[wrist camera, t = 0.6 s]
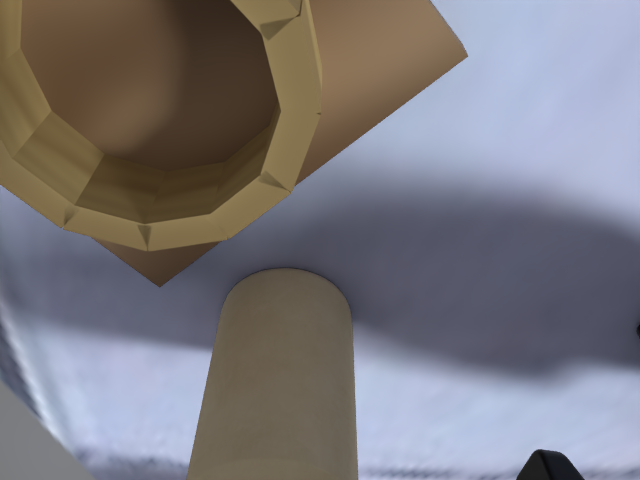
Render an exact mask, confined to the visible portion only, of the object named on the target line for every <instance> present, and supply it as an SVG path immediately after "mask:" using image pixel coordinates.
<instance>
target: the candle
mask: <svg viewBox="0 0 640 480" xmlns="http://www.w3.org/2000/svg"><path fill="white" fill-rule="evenodd" d="M186 480H358V459H357V432H356V405H355V377H354V350H353V327H352V315H351V311H350V307H349V304H348V302H347V300H346V298H345V296H344V295H343V293H342V292H341V291H340V290H339V289H338V288H337V287H336V286H335V285H334V284H333V283H331V282H330V281H328V280H327V279H325V278H323V277H321V276H319V275H317V274H314V273H312V272H308V271H305V270H300V269H293V268H275V269H268V270H264V271H260V272H257V273H254V274H252V275H250V276H248V277H246V278H244V279H243V280H241V281H240V282H238V283H237V284H236V285H235V286H234V287H233V288H232V290H231V291H230V292H229V294H228V296H227V297H226V299H225V302H224V304H223V307H222V310H221V315H220V319H219V323H218V328H217V333H216V338H215V343H214V347H213V352H212V357H211V362H210V367H209V372H208V377H207V381H206V386H205V391H204V396H203V401H202V406H201V411H200V415H199V420H198V425H197V430H196V435H195V440H194V444H193V449H192V454H191V459H190V464H189V469H188V474H187V479H186Z"/></svg>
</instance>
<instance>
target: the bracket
mask: <svg viewBox="0 0 640 480" xmlns="http://www.w3.org/2000/svg"><path fill="white" fill-rule="evenodd" d="M466 57H468V55H467V52H466V50H465V48H464V46H463V44H462V43H461V41H460V40H459V39H458V37H457V36H456V35H455V33H454V32H453V31H452V29H451V28H450V27H449V25H448V24H447V22H446V21H445V20H444V18H443V17H442V16H441V14H440V13H439V12H438V10H437V9H436V8H435V6H434V5H433V4H432V2H431V1H430V0H0V185H2V186H3V187H4V188H6V189H7V190H9V191H10V192H11V193H13V194H14V195H16V196H17V197H18V198H20V199H21V200H22V201H24V202H25V203H27V204H28V205H29V206H31V207H32V208H34V209H35V210H36V211H38V212H39V213H40V214H42V215H43V216H45V217H46V218H47V219H49V220H50V221H52V222H53V223H54V224H56V225H57V226H58V227H60V228H62V227H63V229H64V230H67V231H71V232H75V233H79V234H83V235H87V236H90V237H91V238H93V239H94V240H96V241H97V242H98V243H100V244H101V245H102V246H104V247H105V248H106V249H108V250H109V251H111V252H112V253H113V254H115V255H116V256H117V257H119V258H120V259H121V260H123V261H124V262H126V263H127V264H128V265H130V266H131V267H132V268H134V269H135V270H136V271H138V272H139V273H141V274H142V275H143V276H145V277H146V278H147V279H149V280H150V281H151V282H153V283H154V284H156V285H157V286H158V287H161V286H162V285H163V284H165V283H166V282H167V281H169V280H170V279H171V278H173V277H174V276H175V275H177V274H178V273H179V272H181V271H182V270H183V269H185V268H186V267H187V266H189V265H190V264H191V263H193V262H194V261H195V260H197V259H198V258H199V257H201V256H202V255H203V254H205V253H206V252H207V251H209V250H210V249H211V248H213V247H214V246H215V245H217V244H218V243H219V242H221V241H222V240H228V238H229V239H230V238H232V237H233V236H234V235H236V234H237V233H238V232H240V231H241V230H242V229H244V228H245V227H246V226H248V225H249V224H250V223H252V222H253V221H255V220H256V219H257V218H259V217H260V216H261V215H263V214H264V213H265V212H267V211H268V210H269V209H271V208H272V207H273V206H275V205H276V204H277V203H279V202H280V201H281V200H283V199H284V198H285V197H287V196H288V195H289V194H291V191H293V188H294V186H296V185H297V184H298V183H300V182H301V181H302V180H304V179H305V178H306V177H308V176H309V175H310V174H312V173H313V172H314V171H316V170H317V169H318V168H320V167H321V166H322V165H324V164H325V163H326V162H328V161H329V160H330V159H332V158H333V157H334V156H336V155H337V154H338V153H340V152H341V151H342V150H344V149H345V148H346V147H348V146H349V145H350V144H352V143H353V142H354V141H356V140H357V139H358V138H360V137H361V136H362V135H364V134H365V133H366V132H368V131H369V130H370V129H372V128H373V127H374V126H376V125H377V124H378V123H380V122H381V121H382V120H384V119H385V118H386V117H388V116H389V115H390V114H392V113H393V112H394V111H396V110H397V109H398V108H400V107H401V106H402V105H404V104H405V103H406V102H408V101H409V100H410V99H412V98H413V97H414V96H416V95H417V94H418V93H420V92H421V91H422V90H424V89H425V88H426V87H428V86H429V85H430V84H432V83H433V82H434V81H436V80H437V79H438V78H440V77H441V76H442V75H444V74H445V73H446V72H448V71H449V70H450V69H452V68H453V67H454V66H456V65H457V64H458V63H460V62H461V61H462V60H464V59H465V58H466Z"/></svg>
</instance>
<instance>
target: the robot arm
mask: <svg viewBox="0 0 640 480" xmlns="http://www.w3.org/2000/svg"><path fill="white" fill-rule="evenodd" d="M636 332H637V334H638V336H639V338H640V325H639V326H638V328H637V331H636ZM516 480H585V479H584V478H583V477H582V476H581V474H580V473H579V472H578V471H577V469H576V468H575V467H574V466H573V464H572V463H571V462H570V461H569V459H568V458H567V457H566V456H565V455H564V454H562V453H560V452H556V451H549V450H542V449H538V450H536V451H534V452H533V453H532V455H531V456H530V458H529V459H528V461H527V462H526V464H525V466H524V467H523V469H522V470H521V472H520V473H519V475H518V477H517V479H516Z"/></svg>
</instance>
